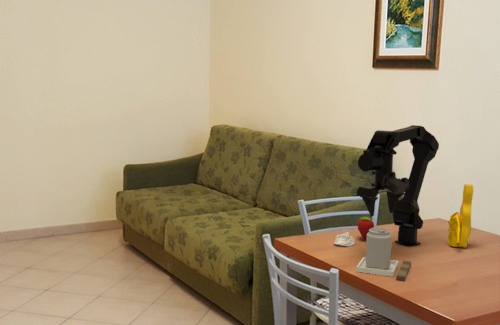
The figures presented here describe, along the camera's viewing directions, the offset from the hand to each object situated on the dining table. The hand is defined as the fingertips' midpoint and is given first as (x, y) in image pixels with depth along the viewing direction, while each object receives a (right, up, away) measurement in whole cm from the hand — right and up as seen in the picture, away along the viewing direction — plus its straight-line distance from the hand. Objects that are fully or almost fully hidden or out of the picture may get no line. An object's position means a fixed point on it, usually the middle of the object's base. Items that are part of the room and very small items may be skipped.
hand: (381, 214), depth 195 cm
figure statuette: (+29, -12, +10) cm, 33 cm away
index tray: (-5, -15, -16) cm, 23 cm away
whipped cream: (-11, -12, +11) cm, 20 cm away
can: (-5, -15, -16) cm, 22 cm away
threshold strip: (+3, -16, -19) cm, 25 cm away
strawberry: (-2, -11, +17) cm, 20 cm away
